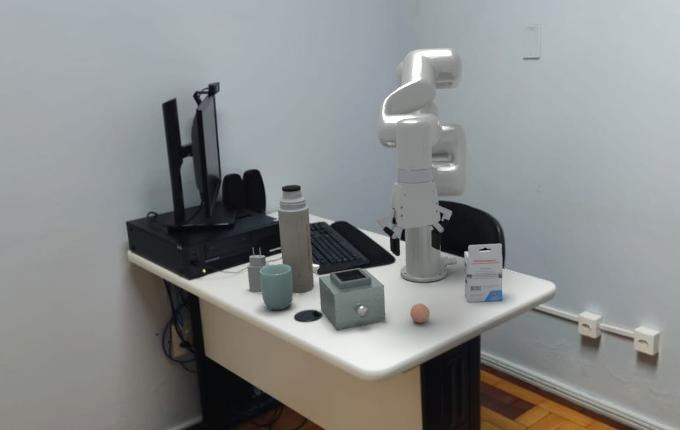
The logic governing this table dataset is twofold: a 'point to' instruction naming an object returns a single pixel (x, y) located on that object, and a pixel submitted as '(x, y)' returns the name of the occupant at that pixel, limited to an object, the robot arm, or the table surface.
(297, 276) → the thermos bottle
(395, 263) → the table surface
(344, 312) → the box
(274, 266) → the cup
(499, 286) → the ink box
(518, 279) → the table surface
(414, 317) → the peach sphere
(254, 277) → the power adapter
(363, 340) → the table surface
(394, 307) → the table surface
